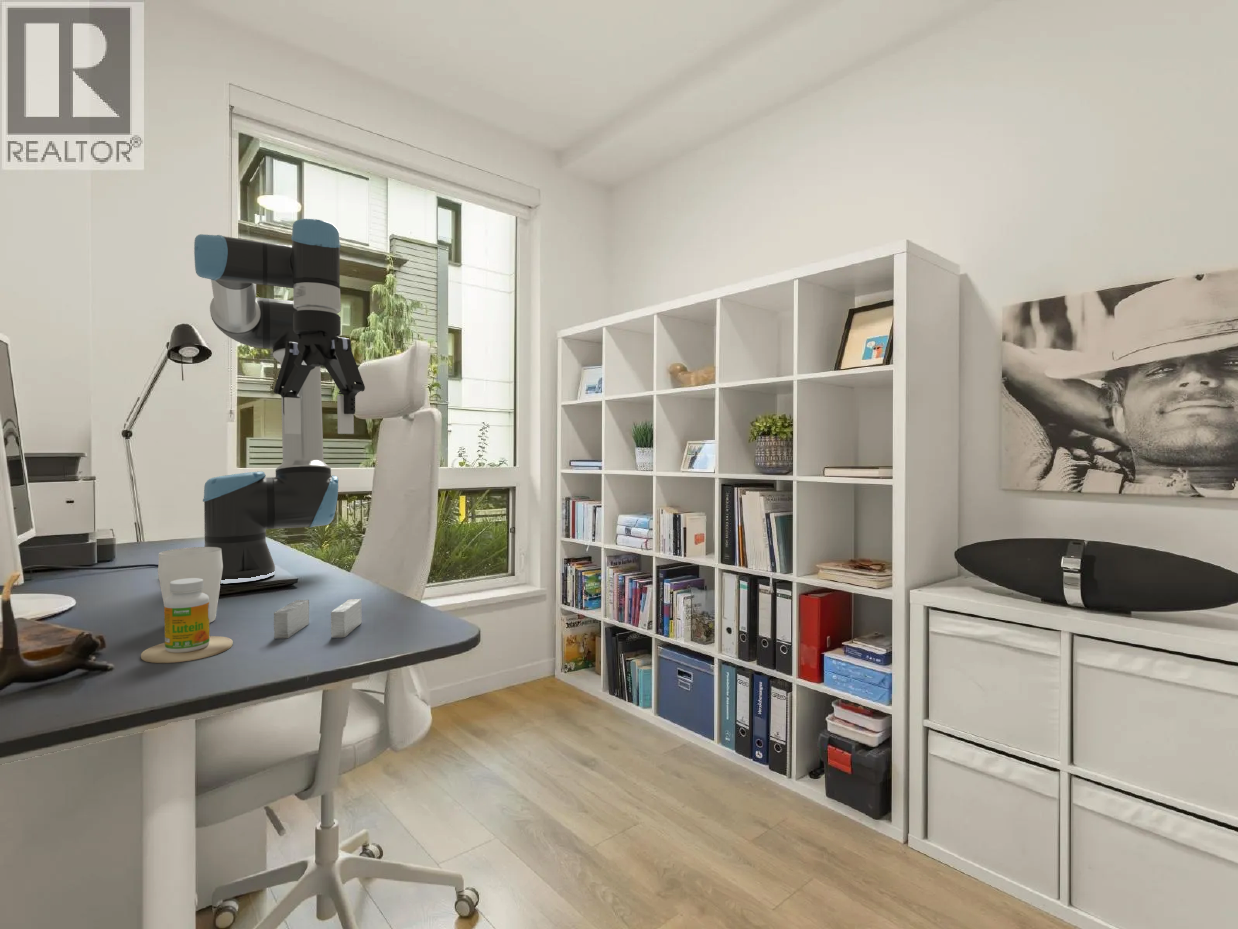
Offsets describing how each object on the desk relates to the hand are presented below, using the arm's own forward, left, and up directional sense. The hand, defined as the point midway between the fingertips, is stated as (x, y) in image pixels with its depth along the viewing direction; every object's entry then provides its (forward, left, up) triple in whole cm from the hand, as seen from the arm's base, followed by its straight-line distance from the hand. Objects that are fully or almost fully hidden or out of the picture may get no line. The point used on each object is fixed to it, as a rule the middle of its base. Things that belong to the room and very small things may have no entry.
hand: (318, 434), depth 114 cm
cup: (+6, -19, -32) cm, 37 cm away
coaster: (+21, -11, -32) cm, 39 cm away
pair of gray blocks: (+12, +4, -32) cm, 34 cm away
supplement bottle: (+21, -11, -31) cm, 39 cm away
